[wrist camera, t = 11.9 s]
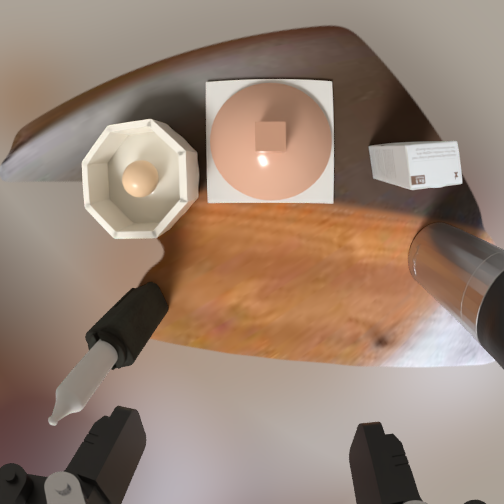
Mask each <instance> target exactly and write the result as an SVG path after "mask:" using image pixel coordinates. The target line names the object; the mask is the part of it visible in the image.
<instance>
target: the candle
mask: <svg viewBox="0 0 504 504" xmlns="http://www.w3.org/2000/svg"><path fill="white" fill-rule="evenodd" d="M167 311H168V305H167V303H166V301H165V299H164V297H163V295H162V293H161V291H160V288H159V287H158V285H157V284H155V283H153V282H148V283H147V284H146V285H144V286H141V287H138V288H132V289H131V290H130V291H129V292H127V293H126V294H125V295H124V296H123V297H122V298H121V299H120V300H119V301H118V302H117V303H116V304H115V305H114V306H113V307H112V308H111V309H110V310H109V311H108V312H107V313H106V314H105V315H104V316H103V317H102V318H101V319H100V320H99V321H98V322H97V323H96V324H95V325H94V326H93V327H92V328H91V329H90V330H89V331H88V332H87V333H86V336H85V338H86V341H87V343H88V347H89V352H88V353H87V354H86V355H85V356H84V357H83V358H82V360H81V361H80V362H79V363H78V364H77V365H76V366H75V368H74V369H73V370H72V371H71V372H70V373H69V375H68V376H67V377H66V378H65V379H64V380H63V382H62V383H61V384H60V385H59V386H58V388H57V389H56V404H55V407H54V410H53V414H52V416H50V417H49V423H50V424H51V425H57V422H58V420H60V419H62V418H63V417H65V416H66V415H68V414H70V413H75V412H79V411H81V410H82V409H83V408H84V406H85V405H86V403H87V402H88V400H89V399H90V398H91V396H92V395H93V393H94V392H95V391H96V389H97V388H98V386H99V385H100V383H101V382H102V381H103V379H104V378H105V376H106V375H107V374H108V372H109V371H110V370H111V369H112V370H114V369H115V368H121V367H125V366H130V365H132V364H133V363H134V361H135V360H136V358H137V357H138V355H139V354H140V352H141V351H142V349H143V347H144V346H145V345H146V343H147V341H148V340H149V338H150V337H151V335H152V334H153V332H154V331H155V329H156V328H157V326H158V325H159V324H160V322H161V321H162V319H163V318H164V316H165V315H166V313H167Z"/></svg>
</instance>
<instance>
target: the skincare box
mask: <svg viewBox="0 0 504 504" xmlns="http://www.w3.org/2000/svg"><path fill="white" fill-rule="evenodd" d="M369 152H370V159H371V166H372V173H373V178H374V179H377V180H381V181H384V182H387V183H391V184H394V185H397V186H400V187H403V188H407V189H410V190H416V189H424V188H440V187H444V186H450V185H458V184H462V172H461V163H460V156H459V150H458V144H457V141H425V142H400V143H387V144H378V145H371V146H369Z"/></svg>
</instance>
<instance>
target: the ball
mask: <svg viewBox="0 0 504 504" xmlns="http://www.w3.org/2000/svg"><path fill="white" fill-rule="evenodd" d="M158 180H159V176H158V172H157V169H156V168H155V166H154V165H153V164H151V163H150V162H148V161H144V160H138V161H134V162H132V163H131V164H129V165H128V166H127V167H126V169H125V170H124V172H123V176H122V184H123V187H124V189H125V190H126V192H127V193H129V194H130V195H132V196H134V197H145V196H148V195H149V194H151V193H152V192H153V191H154V190H155V189H156V187H157V184H158Z"/></svg>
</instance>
